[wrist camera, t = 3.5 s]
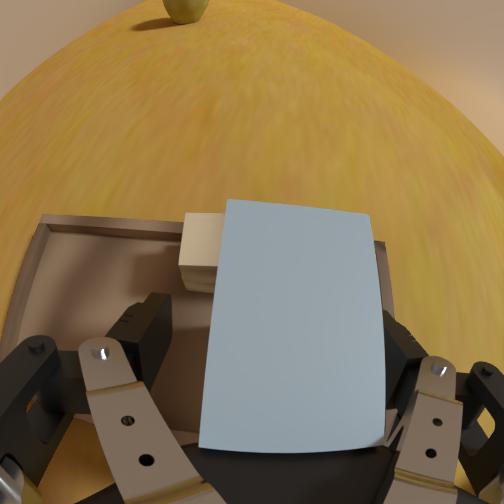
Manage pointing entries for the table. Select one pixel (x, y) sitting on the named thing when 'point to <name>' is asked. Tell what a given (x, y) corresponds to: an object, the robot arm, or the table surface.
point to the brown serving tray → (125, 301)
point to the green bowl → (185, 10)
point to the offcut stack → (201, 250)
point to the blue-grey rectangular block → (294, 333)
